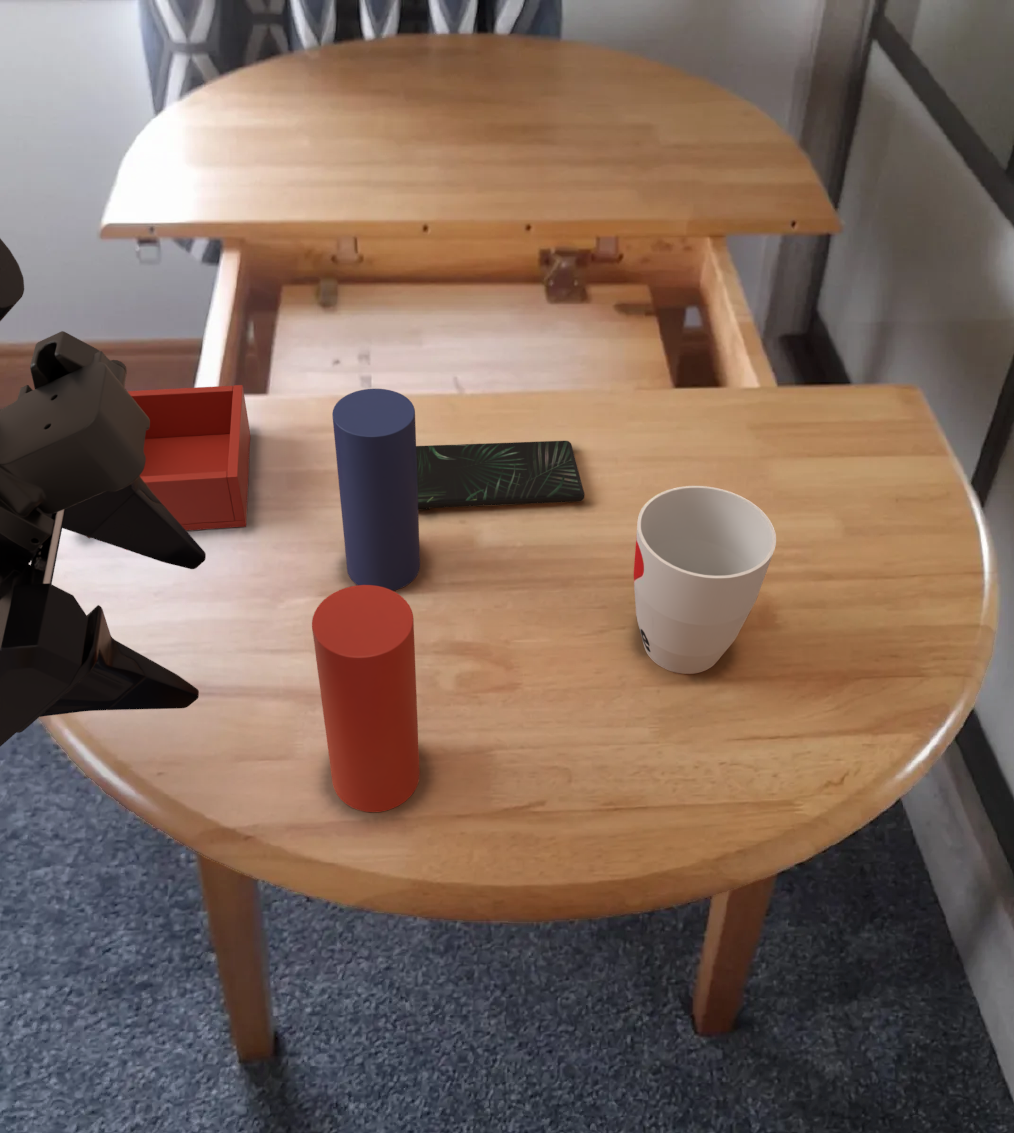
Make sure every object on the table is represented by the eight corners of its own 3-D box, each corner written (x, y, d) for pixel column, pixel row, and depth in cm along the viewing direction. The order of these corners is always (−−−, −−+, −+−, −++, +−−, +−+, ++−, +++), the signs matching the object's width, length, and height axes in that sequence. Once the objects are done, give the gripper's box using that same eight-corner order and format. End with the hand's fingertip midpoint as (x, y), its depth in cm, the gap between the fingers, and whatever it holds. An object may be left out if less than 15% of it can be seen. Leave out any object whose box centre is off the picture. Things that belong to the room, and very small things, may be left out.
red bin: (86, 537, 78) (70, 486, 75) (104, 442, 86) (91, 392, 83) (246, 526, 79) (237, 476, 76) (250, 433, 87) (242, 384, 84)
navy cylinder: (334, 581, 76) (318, 425, 67) (365, 535, 79) (353, 381, 70) (403, 599, 75) (395, 444, 66) (430, 552, 78) (427, 398, 69)
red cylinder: (317, 797, 63) (294, 641, 54) (354, 731, 66) (337, 574, 58) (399, 823, 62) (389, 668, 53) (432, 754, 65) (428, 598, 56)
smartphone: (585, 495, 81) (379, 504, 80) (584, 505, 82) (379, 514, 80) (570, 438, 86) (375, 445, 85) (569, 448, 87) (376, 456, 85)
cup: (652, 584, 76) (672, 469, 69) (764, 630, 73) (796, 516, 67) (598, 659, 71) (613, 543, 64) (716, 712, 68) (745, 597, 61)
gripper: (-58, 488, 35) (316, 687, 44) (28, 215, 48) (303, 412, 58) (-232, 673, 39) (144, 820, 49) (-108, 375, 53) (168, 535, 62)
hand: (197, 626), depth 54 cm, fingers open, 9 cm apart
